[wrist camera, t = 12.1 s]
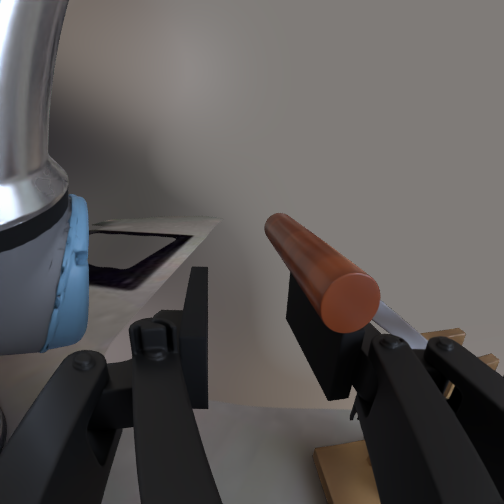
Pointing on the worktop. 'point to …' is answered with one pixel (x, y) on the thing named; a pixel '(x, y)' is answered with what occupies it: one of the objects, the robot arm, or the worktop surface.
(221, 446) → the worktop surface
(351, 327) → the lever
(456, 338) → the bracket
